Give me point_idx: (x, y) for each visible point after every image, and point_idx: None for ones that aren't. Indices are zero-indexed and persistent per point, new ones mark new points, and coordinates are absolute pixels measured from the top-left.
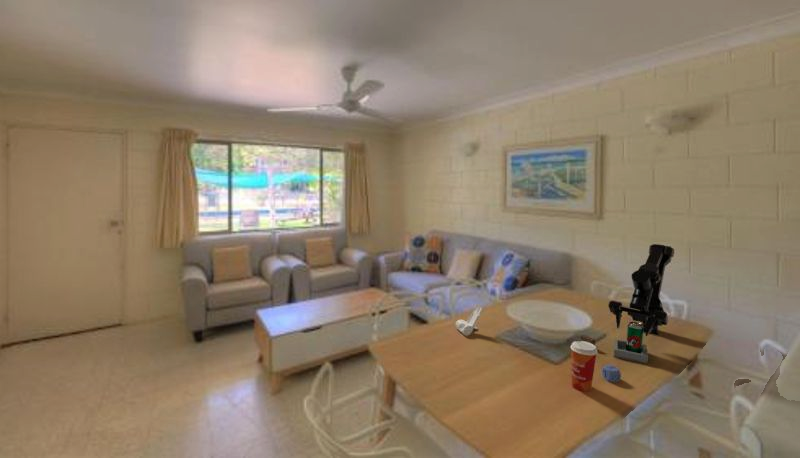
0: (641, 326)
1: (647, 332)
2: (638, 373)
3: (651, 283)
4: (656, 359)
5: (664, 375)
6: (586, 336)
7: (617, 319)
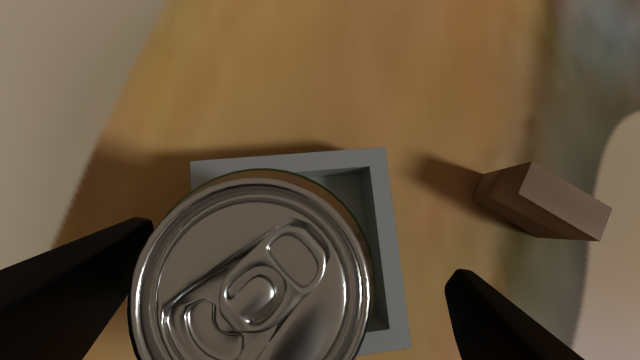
0: (158, 231)
1: (108, 230)
2: (248, 37)
3: None
4: None
5: (131, 84)
6: (578, 214)
7: (564, 357)
